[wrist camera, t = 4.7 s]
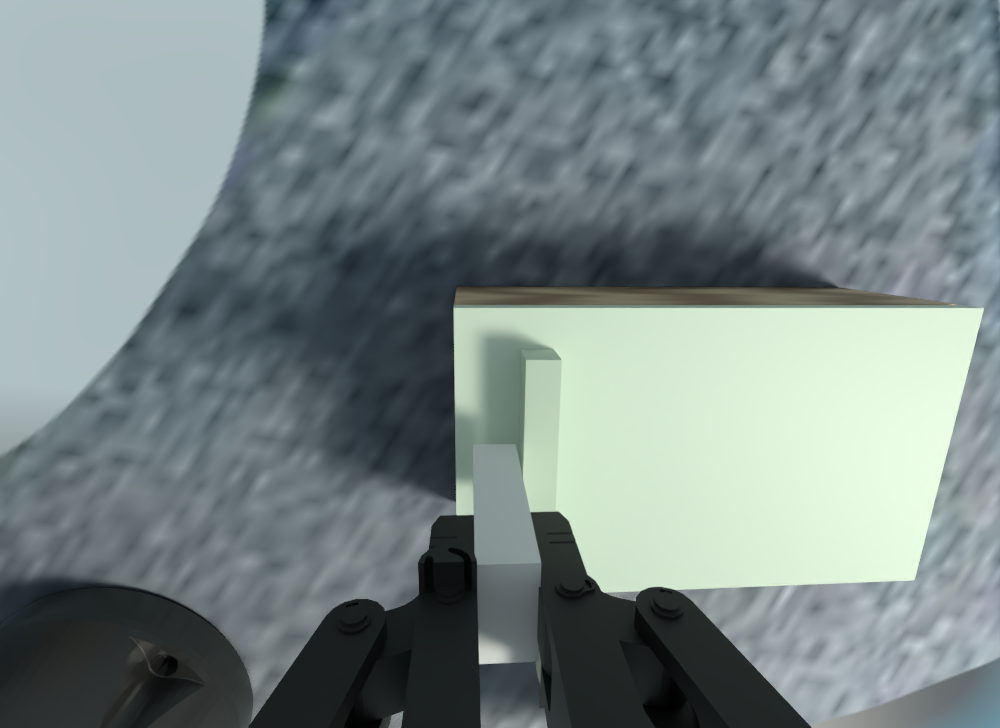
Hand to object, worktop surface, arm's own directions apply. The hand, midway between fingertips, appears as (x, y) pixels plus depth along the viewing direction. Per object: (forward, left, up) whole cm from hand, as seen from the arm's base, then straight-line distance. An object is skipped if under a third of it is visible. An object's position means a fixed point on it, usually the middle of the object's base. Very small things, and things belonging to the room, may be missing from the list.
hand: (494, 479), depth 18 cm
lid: (+9, 0, -2) cm, 9 cm away
